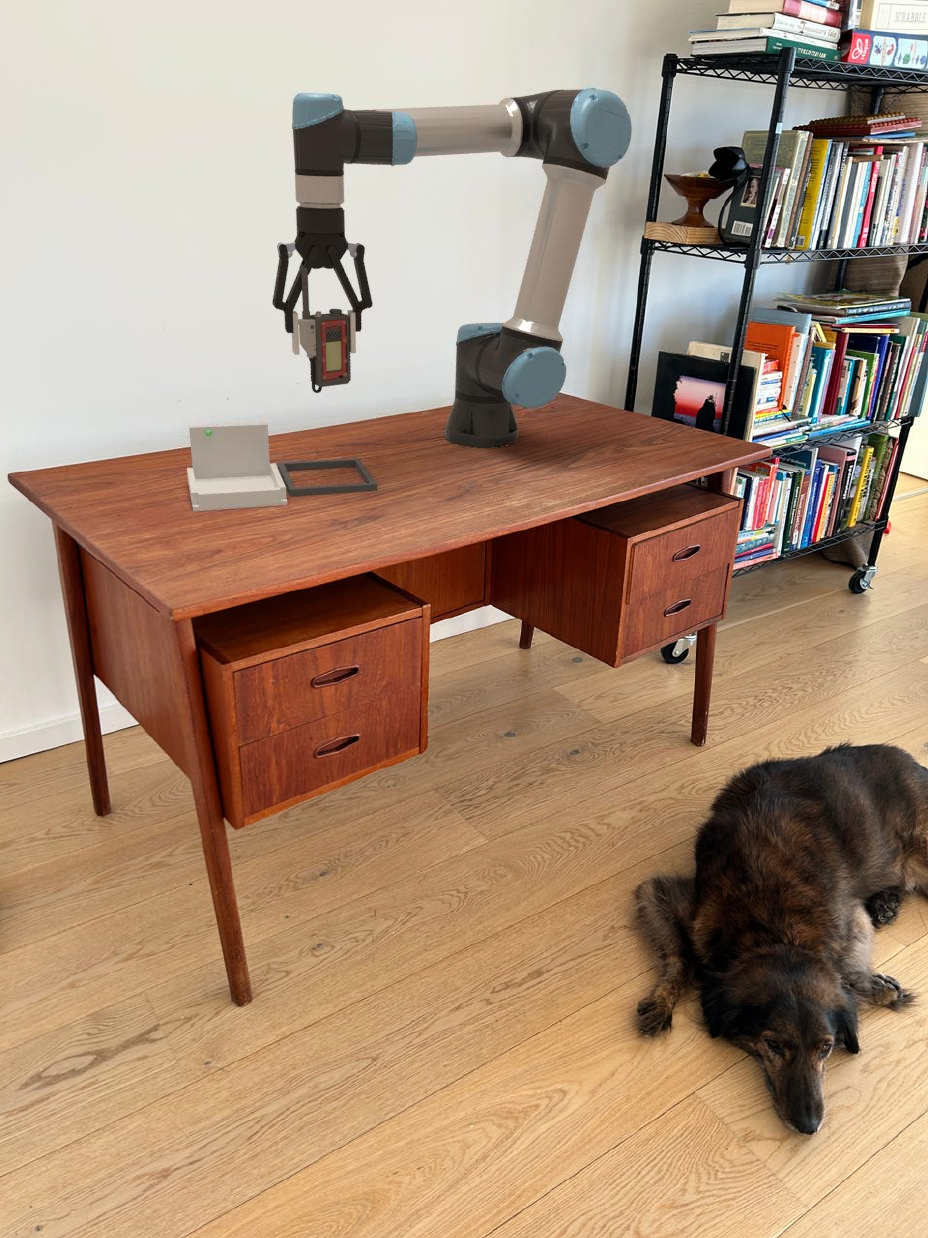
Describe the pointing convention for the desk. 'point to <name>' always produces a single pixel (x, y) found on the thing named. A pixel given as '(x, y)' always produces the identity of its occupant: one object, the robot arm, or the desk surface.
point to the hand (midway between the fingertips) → (324, 352)
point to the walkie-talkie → (325, 342)
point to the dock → (233, 468)
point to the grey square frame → (328, 489)
